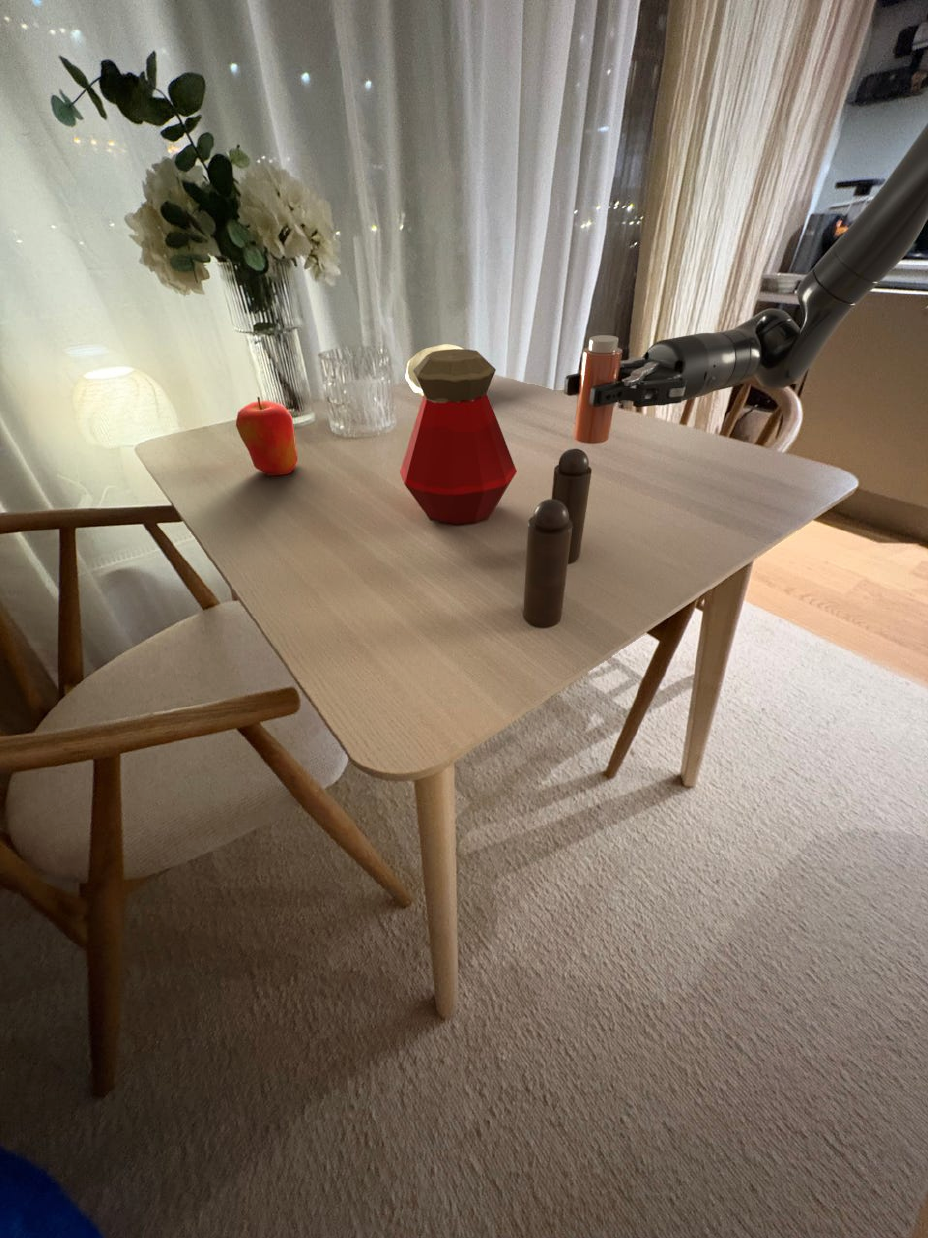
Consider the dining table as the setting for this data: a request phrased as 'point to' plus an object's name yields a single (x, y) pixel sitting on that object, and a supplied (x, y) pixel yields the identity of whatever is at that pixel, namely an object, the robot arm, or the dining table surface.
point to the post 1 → (546, 563)
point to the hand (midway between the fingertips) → (579, 391)
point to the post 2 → (573, 493)
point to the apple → (268, 436)
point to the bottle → (456, 441)
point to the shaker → (595, 370)
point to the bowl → (417, 359)
